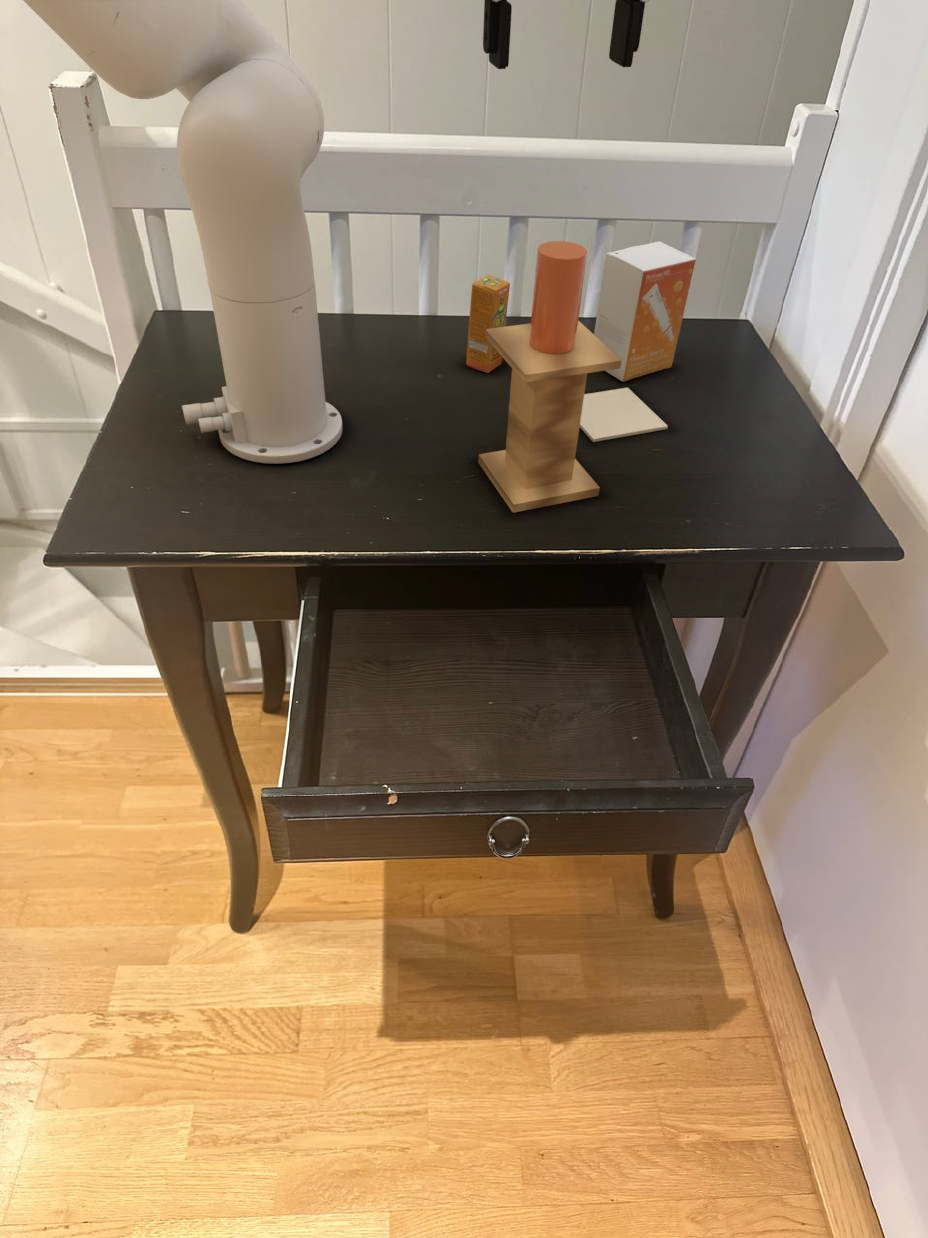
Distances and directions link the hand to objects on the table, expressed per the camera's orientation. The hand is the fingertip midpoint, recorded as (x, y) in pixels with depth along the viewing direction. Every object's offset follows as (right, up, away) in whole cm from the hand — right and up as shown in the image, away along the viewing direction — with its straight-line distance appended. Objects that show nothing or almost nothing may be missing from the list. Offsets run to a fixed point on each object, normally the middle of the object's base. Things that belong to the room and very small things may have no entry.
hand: (559, 64), depth 63 cm
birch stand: (0, -28, +19) cm, 34 cm away
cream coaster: (+9, -19, +29) cm, 36 cm away
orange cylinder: (0, -18, +10) cm, 20 cm away
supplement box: (-5, -12, +37) cm, 39 cm away
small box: (+13, -11, +38) cm, 42 cm away
